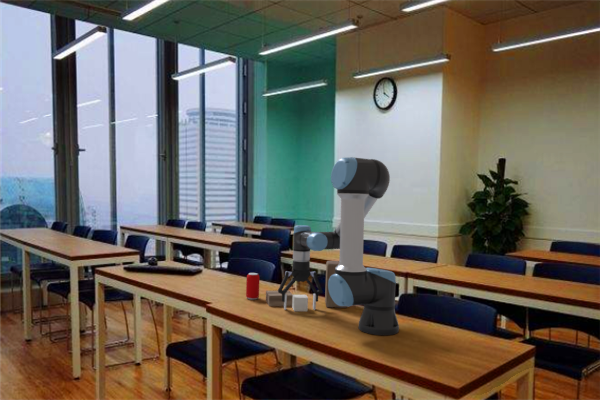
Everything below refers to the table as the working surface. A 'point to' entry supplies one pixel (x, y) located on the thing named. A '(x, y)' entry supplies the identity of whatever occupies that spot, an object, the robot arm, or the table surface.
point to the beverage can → (252, 286)
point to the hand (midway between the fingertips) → (299, 309)
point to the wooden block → (329, 271)
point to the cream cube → (300, 303)
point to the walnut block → (278, 298)
